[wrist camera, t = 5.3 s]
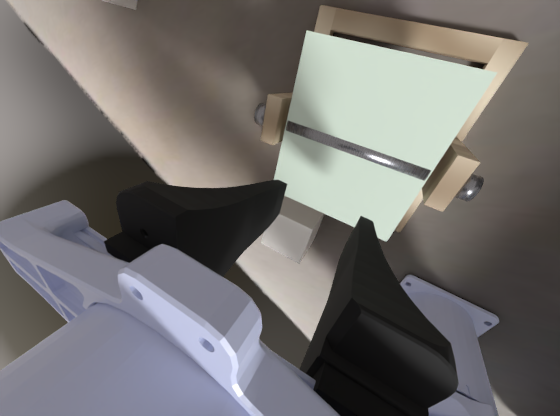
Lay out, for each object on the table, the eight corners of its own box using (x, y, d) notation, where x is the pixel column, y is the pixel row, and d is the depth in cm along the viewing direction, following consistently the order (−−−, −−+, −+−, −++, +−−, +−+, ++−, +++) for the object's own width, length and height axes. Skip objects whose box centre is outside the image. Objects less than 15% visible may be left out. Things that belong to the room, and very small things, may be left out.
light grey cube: (314, 239, 26) (299, 263, 22) (280, 222, 27) (261, 243, 24) (326, 208, 23) (312, 229, 20) (288, 191, 25) (268, 208, 21)
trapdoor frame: (406, 231, 21) (405, 280, 15) (277, 175, 24) (242, 200, 19) (535, 47, 13) (621, 21, 8) (316, 6, 16) (273, -30, 11)
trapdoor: (389, 224, 17) (386, 242, 15) (284, 179, 19) (270, 190, 18) (482, 74, 11) (498, 72, 10) (320, 37, 14) (305, 30, 12)
